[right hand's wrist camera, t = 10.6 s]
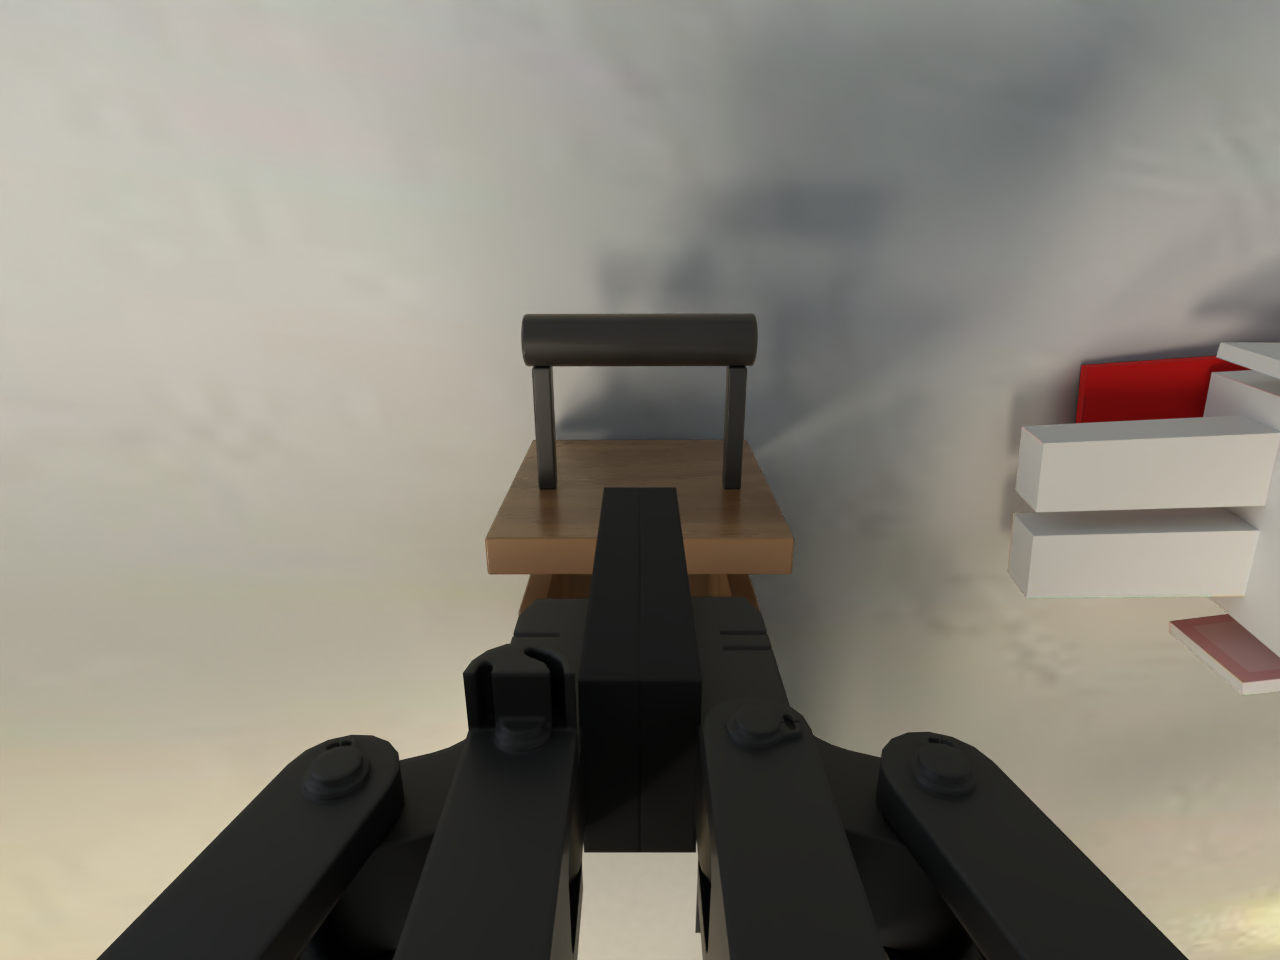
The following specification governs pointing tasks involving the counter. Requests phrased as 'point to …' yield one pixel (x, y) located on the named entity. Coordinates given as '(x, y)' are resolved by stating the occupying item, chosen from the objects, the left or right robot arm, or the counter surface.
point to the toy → (1165, 500)
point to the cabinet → (639, 907)
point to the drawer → (639, 462)
